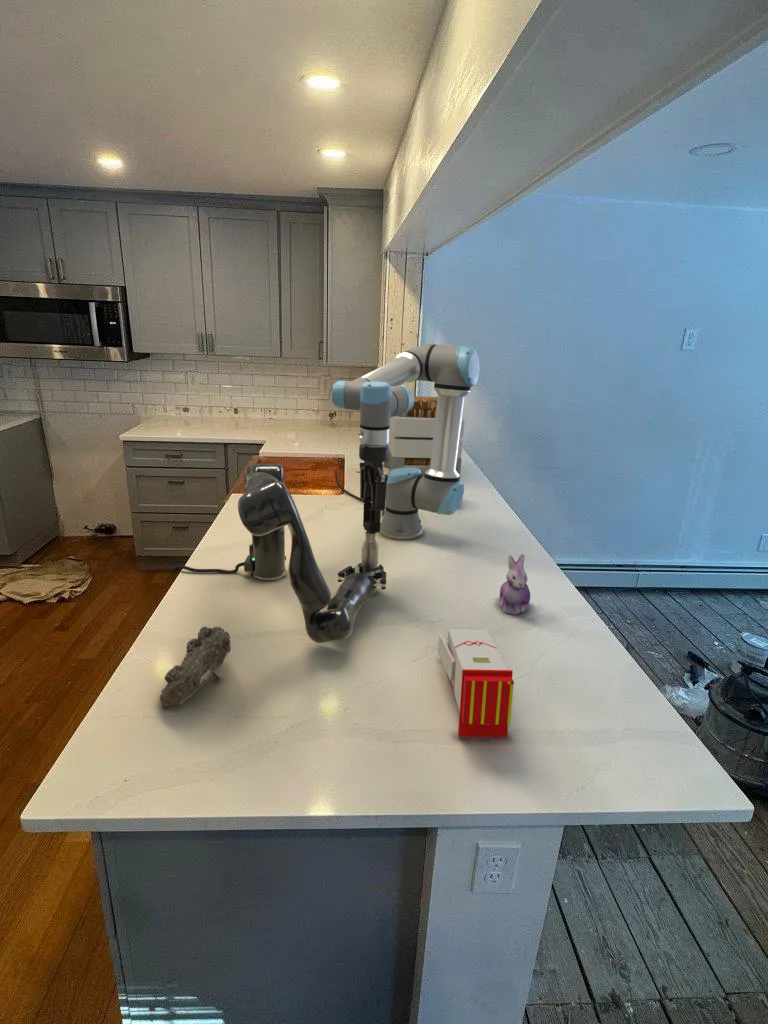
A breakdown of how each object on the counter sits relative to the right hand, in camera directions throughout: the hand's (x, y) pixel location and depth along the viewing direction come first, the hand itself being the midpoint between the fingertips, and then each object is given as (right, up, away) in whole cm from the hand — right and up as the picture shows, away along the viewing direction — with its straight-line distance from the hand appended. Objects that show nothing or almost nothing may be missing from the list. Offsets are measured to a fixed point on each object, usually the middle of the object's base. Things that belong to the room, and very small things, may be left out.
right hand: (371, 529), depth 153 cm
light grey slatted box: (+21, +23, +122) cm, 126 cm away
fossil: (-35, -30, -33) cm, 57 cm away
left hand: (0, -11, +6) cm, 12 cm away
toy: (+21, -33, -34) cm, 52 cm away
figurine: (+39, -21, +1) cm, 44 cm away
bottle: (-1, -18, +6) cm, 19 cm away
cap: (0, +2, -1) cm, 2 cm away
